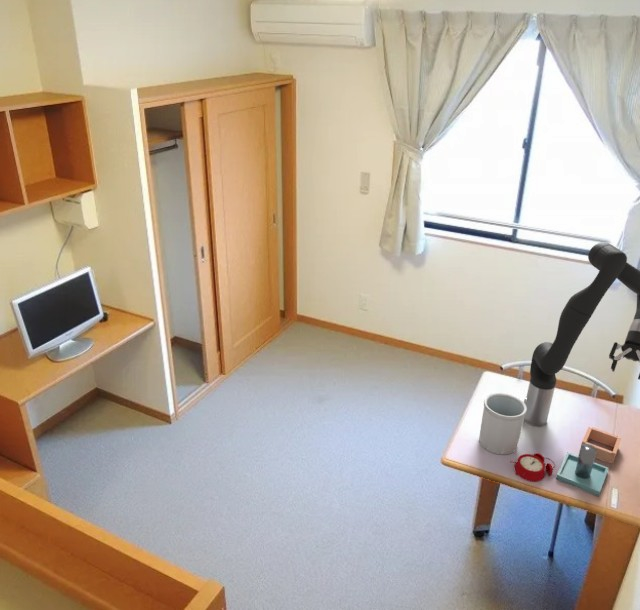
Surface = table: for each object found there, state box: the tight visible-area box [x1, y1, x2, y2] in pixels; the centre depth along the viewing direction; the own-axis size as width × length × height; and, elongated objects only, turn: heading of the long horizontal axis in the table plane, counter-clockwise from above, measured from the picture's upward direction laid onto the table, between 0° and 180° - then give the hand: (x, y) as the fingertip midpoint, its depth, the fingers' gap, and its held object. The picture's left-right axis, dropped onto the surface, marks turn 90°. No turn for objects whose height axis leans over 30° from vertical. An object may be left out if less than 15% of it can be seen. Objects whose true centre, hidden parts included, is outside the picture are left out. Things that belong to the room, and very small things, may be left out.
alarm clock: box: [509, 452, 556, 483], centre depth 206 cm, size 10×6×15 cm
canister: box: [575, 444, 597, 479], centre depth 203 cm, size 5×5×11 cm
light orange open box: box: [580, 426, 622, 464], centre depth 217 cm, size 11×11×4 cm
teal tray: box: [555, 452, 610, 497], centre depth 205 cm, size 14×14×2 cm
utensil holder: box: [479, 392, 527, 455], centre depth 216 cm, size 15×15×18 cm
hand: (625, 374), depth 210 cm, fingers open, 8 cm apart
